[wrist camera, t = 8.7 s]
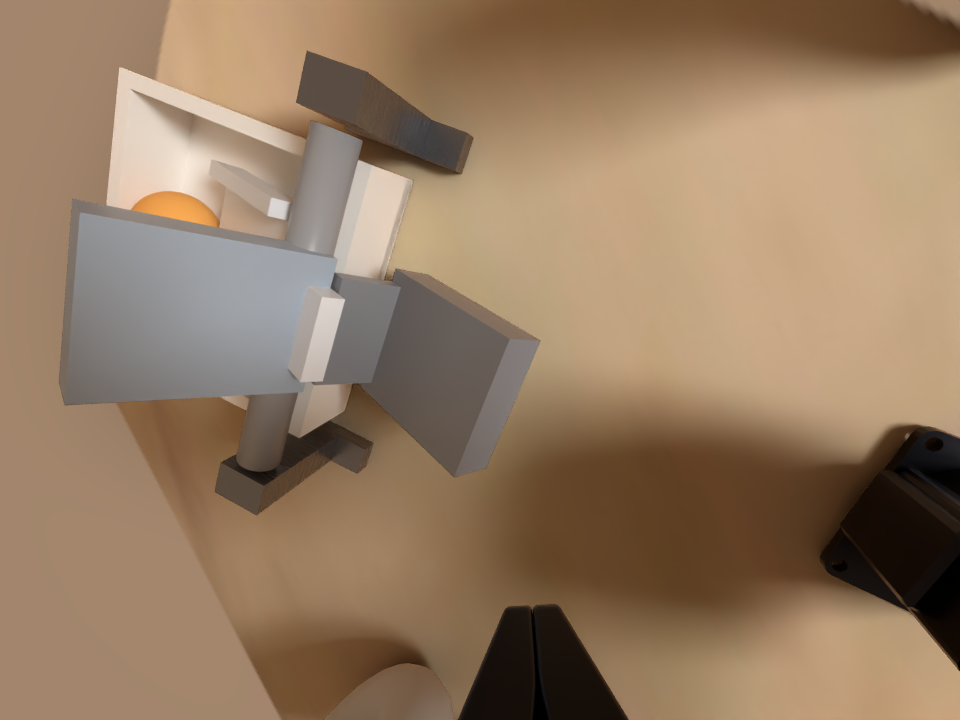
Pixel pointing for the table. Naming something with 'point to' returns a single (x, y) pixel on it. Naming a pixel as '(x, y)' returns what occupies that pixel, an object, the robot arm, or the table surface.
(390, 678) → the donut
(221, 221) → the lever
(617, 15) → the table surface
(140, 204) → the ball
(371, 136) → the stand
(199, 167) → the white storage bin
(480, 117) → the table surface
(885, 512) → the robot arm
